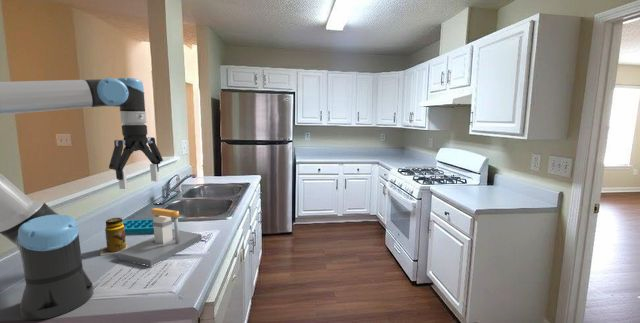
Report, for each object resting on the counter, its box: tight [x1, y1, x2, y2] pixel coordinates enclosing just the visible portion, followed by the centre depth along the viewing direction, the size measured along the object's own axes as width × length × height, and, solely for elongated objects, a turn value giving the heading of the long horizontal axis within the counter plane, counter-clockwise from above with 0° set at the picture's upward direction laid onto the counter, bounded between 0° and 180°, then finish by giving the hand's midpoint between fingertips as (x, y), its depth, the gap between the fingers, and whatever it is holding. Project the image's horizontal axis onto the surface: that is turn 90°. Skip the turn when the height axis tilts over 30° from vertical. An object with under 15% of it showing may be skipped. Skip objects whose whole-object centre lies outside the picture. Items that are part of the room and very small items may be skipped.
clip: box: [151, 207, 180, 243], centre depth 115 cm, size 2×12×12 cm, turn 69°
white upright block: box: [152, 215, 173, 244], centre depth 116 cm, size 5×5×12 cm
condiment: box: [99, 217, 128, 256], centre depth 113 cm, size 7×8×12 cm
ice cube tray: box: [123, 218, 154, 235], centre depth 134 cm, size 12×20×3 cm, turn 98°
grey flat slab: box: [117, 228, 203, 267], centre depth 114 cm, size 24×16×2 cm, turn 160°
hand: (140, 184), depth 107 cm, fingers open, 12 cm apart
